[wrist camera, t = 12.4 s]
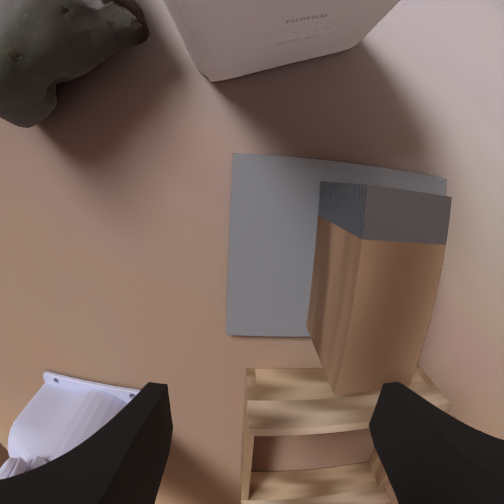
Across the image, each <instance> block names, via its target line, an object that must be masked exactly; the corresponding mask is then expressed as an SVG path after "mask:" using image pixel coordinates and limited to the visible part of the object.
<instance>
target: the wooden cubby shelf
mask: <svg viewBox="0 0 504 504" xmlns="http://www.w3.org/2000/svg"><path fill="white" fill-rule="evenodd" d="M408 388H409V389H411V390H412V391H414V392H415V393H417V394H418V395H420V396H421V397H423V398H424V399H426V400H427V401H429V402H430V403H432V404H433V405H435V406H436V407H438V408H439V409H441V410H442V411H444V412H448V411H449V409H450V407H451V404H450V403H449V401H448V400H447V399H446V398H445V397H444V395H443V394H442V393H441V392H440V390H439V389H438V388H437V387H436V386H435V384H434V383H433V382H432V381H431V380H430V378H429V377H428V376H427V375H426V374H425V373H424V371H423V370H422V369H421V368H420V367H419V365H418V364H417V366H416V369H415V372H414V375H413V378H412V381H411V383H410V386H408ZM380 392H381V390H379V391H370V392H360V393H350V394H337V395H334V393H333V391H332V388H331V386H330V383H329V381H328V378H327V376H326V373H325V371H324V368H308V369H252V368H246V385H245V403H244V421H243V439H242V457H241V475H240V476H241V504H392V503H391V501H390V498H389V496H388V493H387V491H386V489H385V486H384V485H385V483H386V482H387V480H388V476H387V474H386V472H385V469H384V467H383V465H382V463H381V461H380V458H379V456H378V454H377V451H376V449H374V451H373V453H372V456H371V458H370V460H369V462H365V463H359V464H352V465H345V466H338V467H330V468H321V469H310V470H297V471H276V472H251V466H252V456H253V445H254V436H289V435H309V434H322V433H333V432H343V431H352V430H360V429H367V428H369V423H370V420H371V417H372V415H373V412H374V409H375V406H376V403H377V400H378V398H379V395H380Z"/></svg>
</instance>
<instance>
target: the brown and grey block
mask: <svg viewBox="0 0 504 504" xmlns="http://www.w3.org/2000/svg"><path fill="white" fill-rule="evenodd" d="M451 198H452V197H448V196H442V195H436V194H430V193H424V192H417V191H411V190H404V189H396V188H389V187H381V186H373V185H364V184H353V183H340V182H326V181H320V194H319V208H318V220H317V232H316V243H315V254H314V264H313V273H312V282H311V291H310V300H309V308H308V316H307V323H306V327H307V330H308V332H309V334H310V337H311V339H312V342H313V344H314V347H315V349H316V351H317V354H318V356H319V359H320V361H321V364H322V366H323V368H324V371H325V373H326V376H327V378H328V381H329V383H330V386H331V388H332V391H333V393H334V395H337V394H350V393H360V392H370V391H379V390H381V389H382V386H383V383H391V382H400V383H401V384H403V385H405V386H406V387H408V386H410V383H411V381H412V378H413V375H414V372H415V369H416V366H417V363H418V360H419V357H420V354H421V351H422V347H423V344H424V341H425V337H426V334H427V330H428V326H429V323H430V319H431V315H432V311H433V307H434V303H435V299H436V294H437V290H438V285H439V280H440V275H441V270H442V265H443V259H444V253H445V247H446V240H447V233H448V226H449V218H450V208H451Z"/></svg>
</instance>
